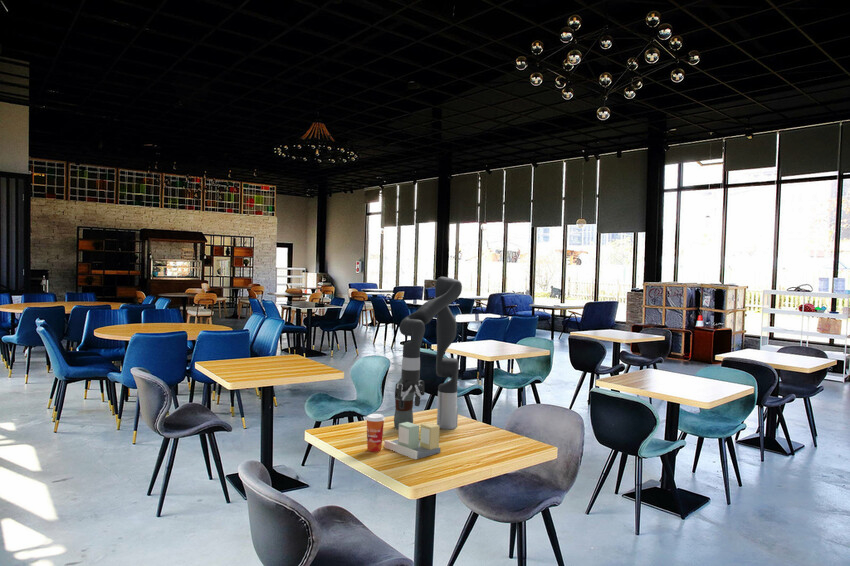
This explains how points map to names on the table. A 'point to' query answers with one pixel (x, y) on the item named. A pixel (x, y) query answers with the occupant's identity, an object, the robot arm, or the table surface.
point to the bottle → (404, 410)
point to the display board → (410, 450)
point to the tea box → (408, 435)
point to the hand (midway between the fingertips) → (409, 407)
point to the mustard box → (429, 436)
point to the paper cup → (374, 432)
